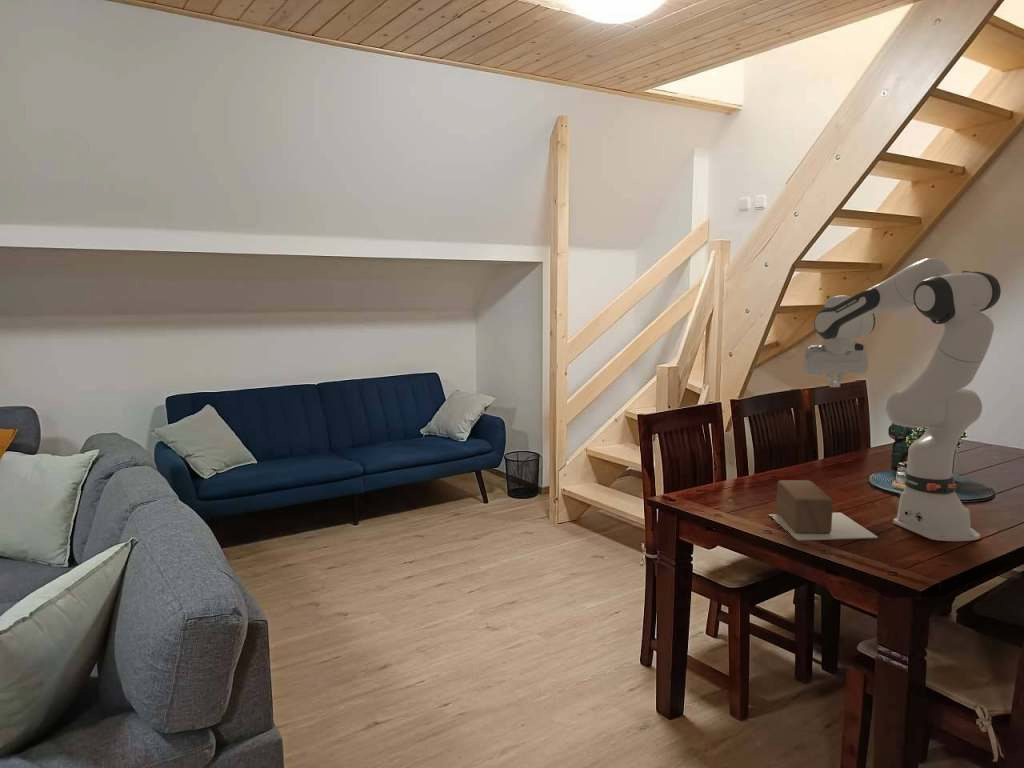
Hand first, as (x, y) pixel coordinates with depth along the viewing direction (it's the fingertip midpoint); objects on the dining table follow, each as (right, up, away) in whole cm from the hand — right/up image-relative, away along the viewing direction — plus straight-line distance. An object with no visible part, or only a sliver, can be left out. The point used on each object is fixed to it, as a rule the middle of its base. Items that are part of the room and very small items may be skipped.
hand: (834, 386), depth 242 cm
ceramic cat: (+40, -31, +23) cm, 55 cm away
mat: (-19, -40, -34) cm, 56 cm away
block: (-22, -33, -22) cm, 45 cm away
